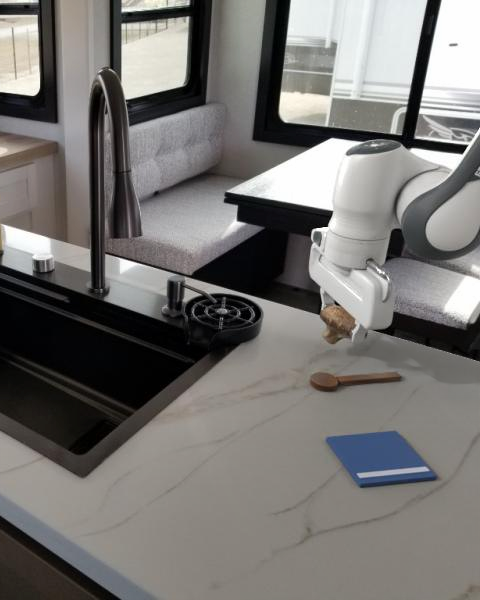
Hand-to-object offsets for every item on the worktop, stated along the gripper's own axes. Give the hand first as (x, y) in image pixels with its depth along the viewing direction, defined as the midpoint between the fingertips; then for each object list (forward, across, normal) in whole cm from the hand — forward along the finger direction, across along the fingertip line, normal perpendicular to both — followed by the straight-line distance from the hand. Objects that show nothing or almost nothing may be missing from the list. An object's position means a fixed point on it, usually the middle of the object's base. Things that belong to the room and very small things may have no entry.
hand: (341, 326), depth 104 cm
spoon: (+5, -9, +2) cm, 10 cm away
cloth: (+5, -26, +8) cm, 27 cm away
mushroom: (+3, 0, -1) cm, 3 cm away
